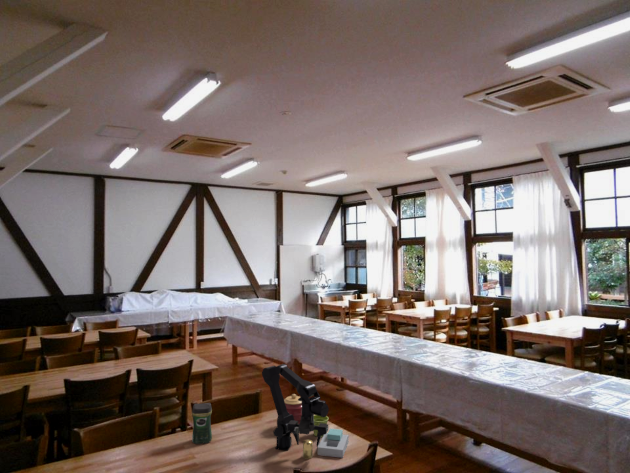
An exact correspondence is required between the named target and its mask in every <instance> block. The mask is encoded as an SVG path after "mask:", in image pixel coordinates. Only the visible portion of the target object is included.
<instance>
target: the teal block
mask: <svg viewBox="0 0 630 473" xmlns="http://www.w3.org/2000/svg"><path fill="white" fill-rule="evenodd" d="M343 431H344V430H343V429H340V428H339V429H338V428H329V429H328V431H327V433H328V434H327V439H330V440H339V441H340V440H341V438H342V435H343V434H344V432H343Z"/></svg>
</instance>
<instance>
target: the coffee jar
mask: <svg viewBox="0 0 630 473" xmlns="http://www.w3.org/2000/svg"><path fill="white" fill-rule="evenodd" d="M212 411H213V409H212V404H211V402H206V403H205V402H204V403H194V404H193V406H192V411H191V412H192V413H191V414H192V417H193V420H192V421H193V424H192V425H193V426H192V433H191V434H192V435H191V437H192V438H191V442H192V444H195V445H201V444H202V443H203V444H209V443H210V442H211V441H212V439H213V433H212V432H213V431H212V425H211V424H212V423H211V415H212V413H213V412H212Z"/></svg>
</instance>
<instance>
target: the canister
mask: <svg viewBox="0 0 630 473" xmlns="http://www.w3.org/2000/svg"><path fill="white" fill-rule="evenodd" d="M300 397H301V396H300V395H299V396H298V395H297V394H295V393H292V394H291V395H289V396H287V397H286V398H284V402H285V405H286V408H287V411H288V413H289V414H290V415H291V414H293V416H294V420H295V421H298V424H300V420H301V415H302V402H301V401H298V399H299V398H300Z"/></svg>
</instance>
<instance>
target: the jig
mask: <svg viewBox="0 0 630 473" xmlns="http://www.w3.org/2000/svg"><path fill="white" fill-rule="evenodd" d="M327 434H328V432H327V433H326V434H324V436H323V437H321V439H320V441H319V444H318V447H317V455H318V456H322V457H323V456H324V457H333V458H343V459H344V456H345V453H346V450H347V448H348V445H349V439H350V438H349V434H344V433H343V435H342V438H341V440H340V441H339V440H330V439H327Z"/></svg>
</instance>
